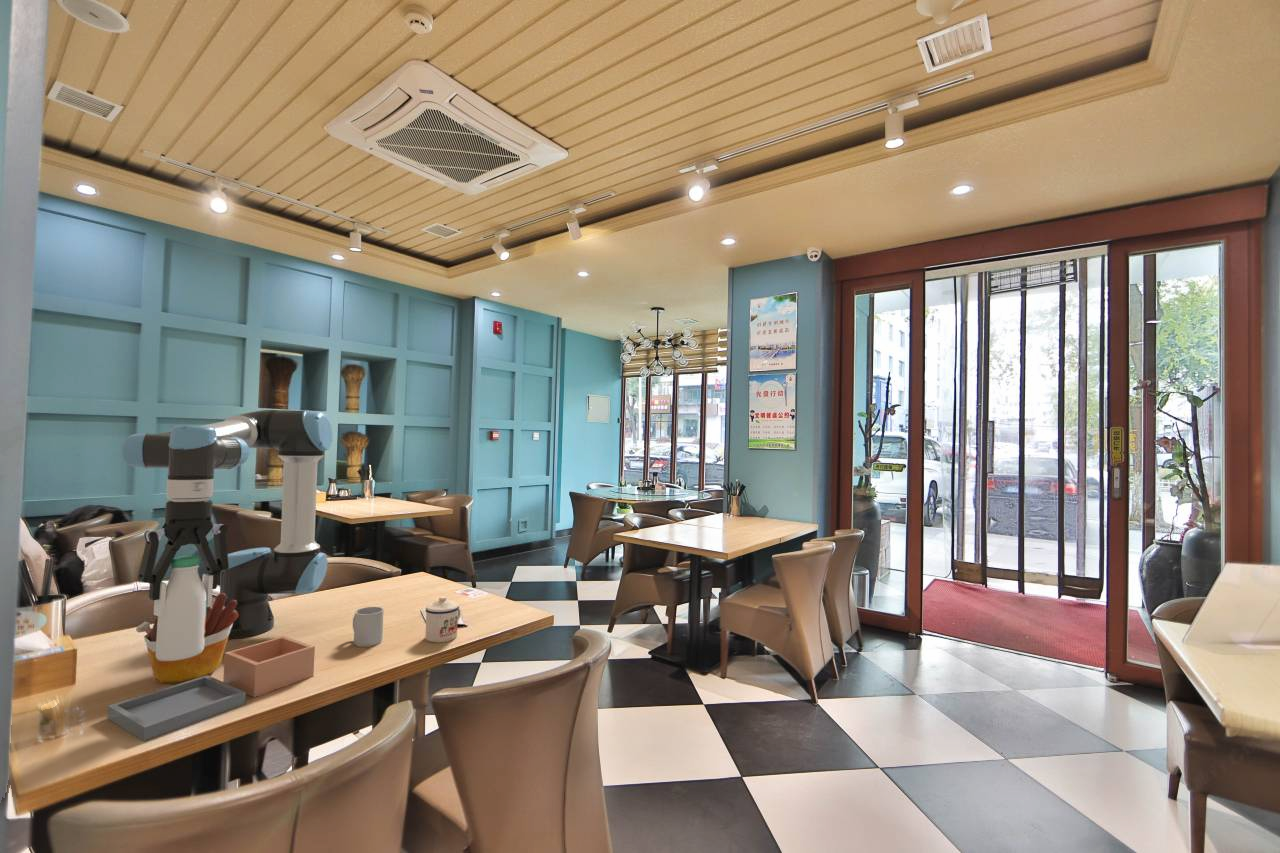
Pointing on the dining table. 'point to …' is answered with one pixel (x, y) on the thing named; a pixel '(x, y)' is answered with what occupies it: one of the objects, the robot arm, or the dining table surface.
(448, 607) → the teacup with lid
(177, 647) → the milk bottle
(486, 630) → the dining table surface
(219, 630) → the bucket of meat
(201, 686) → the tray
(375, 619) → the cup
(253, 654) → the deep holder
